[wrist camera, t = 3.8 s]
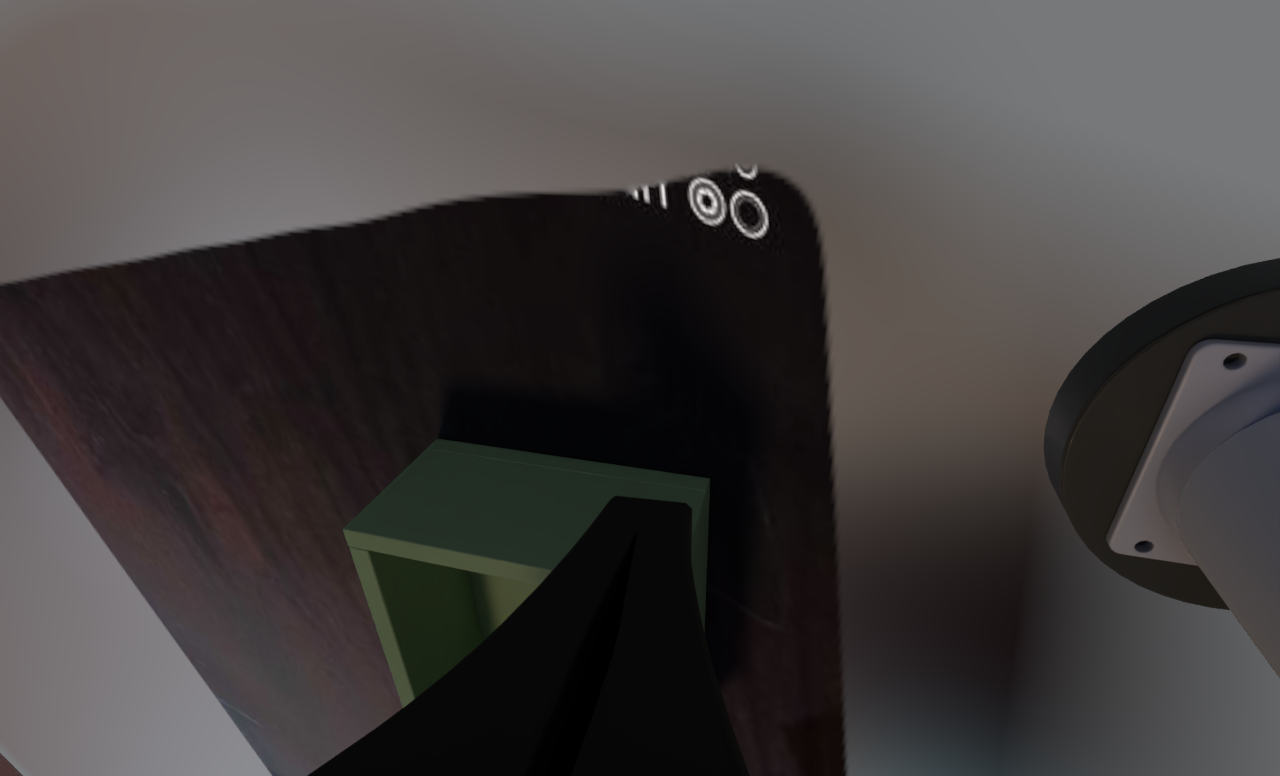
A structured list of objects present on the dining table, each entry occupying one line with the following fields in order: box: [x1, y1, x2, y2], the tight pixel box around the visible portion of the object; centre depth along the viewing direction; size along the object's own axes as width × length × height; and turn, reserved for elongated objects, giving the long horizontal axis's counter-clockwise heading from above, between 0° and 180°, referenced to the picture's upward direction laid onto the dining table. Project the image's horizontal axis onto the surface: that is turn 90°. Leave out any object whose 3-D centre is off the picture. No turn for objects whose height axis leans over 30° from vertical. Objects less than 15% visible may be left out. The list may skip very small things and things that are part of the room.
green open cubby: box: [343, 439, 710, 708], centre depth 25 cm, size 12×14×6 cm
